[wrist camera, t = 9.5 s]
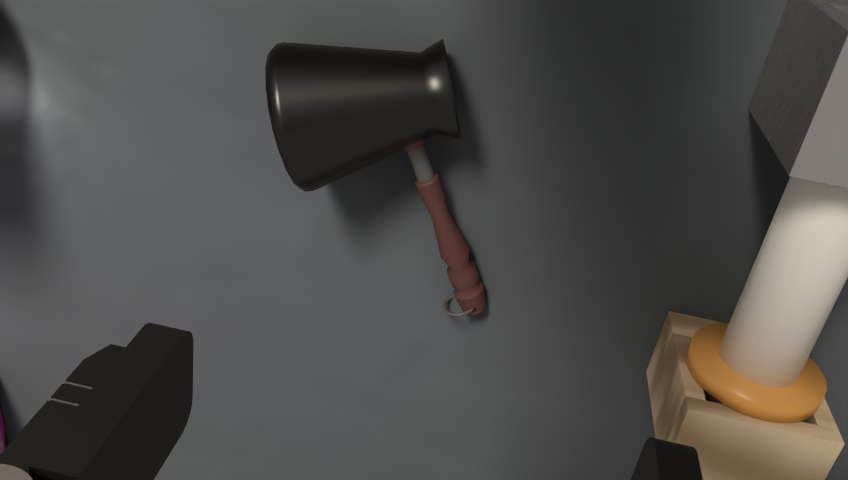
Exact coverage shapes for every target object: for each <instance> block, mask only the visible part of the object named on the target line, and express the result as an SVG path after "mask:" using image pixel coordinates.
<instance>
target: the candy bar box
mask: <svg viewBox="0 0 848 480" xmlns="http://www.w3.org/2000/svg"><path fill="white" fill-rule="evenodd" d="M6 447H7V441H6V436H5V430H4V424H3V419H2V414H1V409H0V454H1V453H2V452H3V451H4V450H5V449H6Z"/></svg>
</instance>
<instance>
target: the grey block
mask: <svg viewBox="0 0 848 480" xmlns="http://www.w3.org/2000/svg"><path fill="white" fill-rule="evenodd" d="M749 111H750V112H751V114H752V116H753V117H754V119H755V121H756V122H757V124H758V126H759V127H760V129H761V131H762V132H763V134H764V136H765V137H766V139H767V140H768V142H769V144H770V145H771V147H772V149H773V150H774V152H775V154H776V155H777V157H778V159H779V160H780V162H781V164H782V165H783V167H784V169H785V170H786V172H787V174H788V175H789V176H791V177H796V178H801V179H806V180H811V181H816V182H820V183H825V184H830V185H835V186H840V187H845V188H848V0H789V1H788V4H787V7H786V9H785V12H784V15H783V17H782V20H781V23H780V26H779V28H778V31H777V34H776V36H775V39H774V42H773V44H772V47H771V50H770V52H769V55H768V58H767V60H766V63H765V66H764V68H763V71H762V74H761V77H760V79H759V82H758V85H757V87H756V90H755V93H754V95H753V98H752V101H751V103H750V106H749Z"/></svg>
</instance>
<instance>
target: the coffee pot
mask: <svg viewBox="0 0 848 480" xmlns="http://www.w3.org/2000/svg"><path fill="white" fill-rule="evenodd" d="M266 93H267V102H268V109H269V114H270V119H271V124H272V129H273V133H274V136H275V140H276V143H277V147H278V150H279V153H280V155H281V158H282V161H283V163H284V166H285V168H286V171H287V172H288V174H289V176H290V178H291V179H292V181H293V183H294V184H295V185H296V186H298V187H299V188H300V189H302V190H304V191H313V190H316V189H319V188H321V187H323V186H325V185H327V184H329V183H331V182H333V181H336V180H338V179H340V178H342V177H344V176H346V175H348V174H350V173H352V172H355V171H357V170H359V169H361V168H363V167H365V166H367V165H369V164H372V163H374V162H376V161H378V160H380V159H382V158H384V157H386V156H389V155H391V154H393V153H395V152H397V151H399V150H401V149H403V151H405V152H407V154H408V156H409V159H410V162H411V164H412V167H413V169H414V172H415V175H416V177H417V179H416V181H415V185H416V187H417V189H418V191H419V193H420V195H421V197H422V199H423V201H424V203H425V205H426V207H427V209H428V211H429V213H430V215H431V217H432V220H433V224H434V229H435V233H436V238H437V242H438V246H439V251H440V255H441V258H442V259H443V260H444V261H445V262H446V263H447V264H448V265H449V267H448V269H447V273H448V276H449V278H450V281H451V284H452V286H453V287H454V288H455V290H454V295H451V296H449V297H448V298H447V299H445V301H444V302H443V305H442V309H443V311H444V312H445V313H446V314H447V315H450V316H455V317H458V316H464V315H469V316H475V315H478V314H480V313H482V312H483V311H484V309H485V307H486V301H485V293H484V286H483V283H482V282H481V281H479V274H478V271H477V269H476V266H475V263H474V261H472V260H470V259H469V251H470V247H469V245H468V243H467V242H466V240H465V238H464V237H463V235H462V234H461V232H460V230H459V229H458V227H457V225H456V224H455V222H454V221H453V219H452V217H451V216H450V214H449V212H448V209H447V205H446V201H445V197H444V193H443V190H442V186H441V182H440V178H439V175H438V174H437V173H435V172H433V169H432V166H431V163H430V161H429V158H428V155H427V153H426V150H425V147H424V145H425V143H426V141H425V138H427V137H429V136H431V135H433V134H440V135H445V136H451V137H456V138H460V130H459V123H458V116H457V110H456V104H455V98H454V92H453V87H452V82H451V76H450V71H449V65H448V60H447V54H446V49H445V45H444V40H443V39H441V40H440V41H438V42H437V43H435V44H433V45H432V46H430V47H429V48H427V49H425V50H424V51H422V52H421V53H416V52H403V51H390V50H377V49H364V48H351V47H338V46H325V45H312V44H298V43H285V42H283V43H279V44H276V45H275V46H274V48H273V49H272V50H271V51H270V52H269V54H268V56H267V62H266ZM454 297H456V299H457V301H458V303H459V305H460V306H461V308H462V310H463V312H462V313H451V312H449V311H447V310H446V304H447V302H448V301H449V300H450V299H452V298H454Z"/></svg>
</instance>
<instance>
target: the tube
mask: <svg viewBox="0 0 848 480" xmlns="http://www.w3.org/2000/svg"><path fill="white" fill-rule="evenodd" d="M847 278H848V188H845V187H840V186H835V185H830V184H825V183H820V182H816V181H811V180H806V179H801V178H796V177H791V176H790V179H789V181H788V183H787V186H786V188H785V190H784V193H783V195H782V198H781V200H780V202H779V205H778V207H777V210H776V212H775V214H774V217H773V219H772V222H771V224H770V226H769V229H768V231H767V234H766V236H765V238H764V241H763V243H762V245H761V248H760V250H759V253H758V255H757V257H756V260H755V262H754V265H753V267H752V269H751V272H750V274H749V277H748V279H747V281H746V284H745V286H744V289H743V291H742V293H741V296H740V298H739V300H738V303H737V305H736V308H735V310H734V312H733V315H732V317H731V320H730V322H729V323H714V324H709V325H706V326H703V327H701V328H700V329H698V330H697V331H696V332H695V333H694V335H693V337H692V340H691V342H690V345H689V347H688V350H687V352H686V364H687V367H688V370H689V372H690V374H691V375H692V377H693V378H694V379H695V381H696V382H697V383H698V384H699V385H700V386H701V387H702V388H703V390H704V395H705V399H706V401H711V402H715V403H720V404H724V405H727V406H728V407H730V408H732V409H734V410H736V411H739V412H741V413H743V414H746V415H749V416H751V417H754V418H758V419H762V420H766V421H771V422H779V423H793V422H800V421H804V420H806V419H808V418H810V417H811V416H813V415H814V414H815V413H816V411H817V410H818V408H819V406H820V404H821V402H822V400H823V398H824V396H825V394H826V391H827V384H826V380H825V377H824V375H823V373H822V371H821V370H820V369H819V367H818V366H817V365H816V364H815V363H814V361H813V360H812V359H811V358H809V355H810V353H811V351H812V349H813V347H814V345H815V343H816V341H817V339H818V337H819V335H820V333H821V331H822V329H823V326H824V324H825V322H826V320H827V318H828V316H829V314H830V312H831V310H832V308H833V306H834V304H835V302H836V300H837V298H838V296H839V294H840V292H841V290H842V288H843V286H844V284H845V282H846V280H847Z"/></svg>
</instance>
